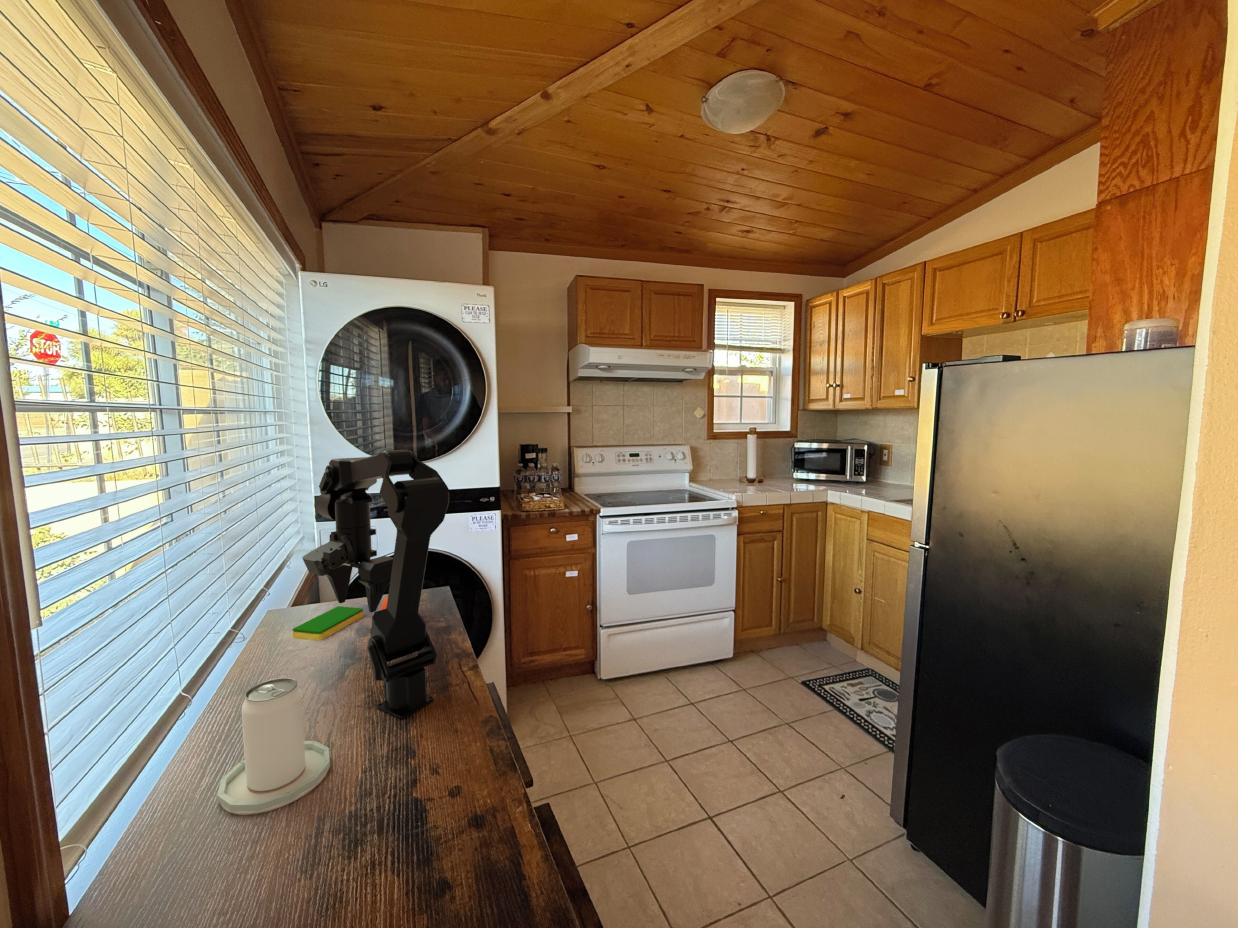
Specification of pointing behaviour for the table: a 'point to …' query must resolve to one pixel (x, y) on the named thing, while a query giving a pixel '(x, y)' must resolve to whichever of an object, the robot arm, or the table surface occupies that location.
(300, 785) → the saucer
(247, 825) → the table surface
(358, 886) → the table surface
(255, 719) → the can
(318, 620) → the dish sponge
